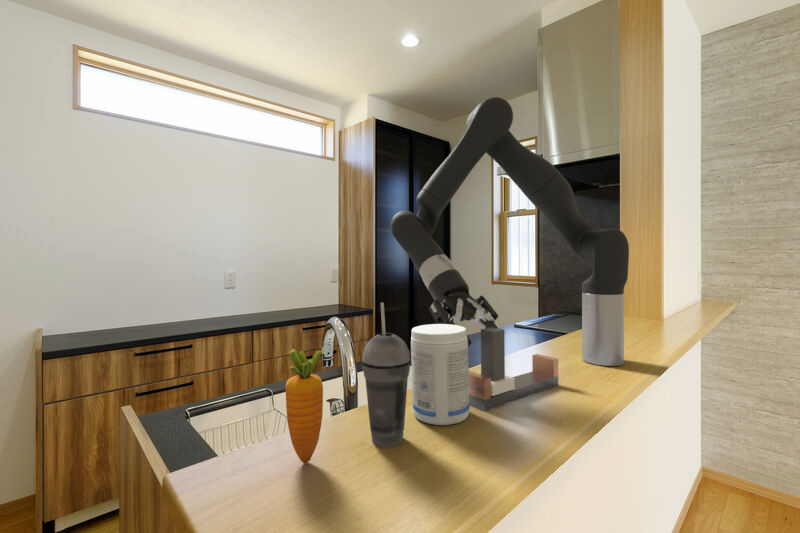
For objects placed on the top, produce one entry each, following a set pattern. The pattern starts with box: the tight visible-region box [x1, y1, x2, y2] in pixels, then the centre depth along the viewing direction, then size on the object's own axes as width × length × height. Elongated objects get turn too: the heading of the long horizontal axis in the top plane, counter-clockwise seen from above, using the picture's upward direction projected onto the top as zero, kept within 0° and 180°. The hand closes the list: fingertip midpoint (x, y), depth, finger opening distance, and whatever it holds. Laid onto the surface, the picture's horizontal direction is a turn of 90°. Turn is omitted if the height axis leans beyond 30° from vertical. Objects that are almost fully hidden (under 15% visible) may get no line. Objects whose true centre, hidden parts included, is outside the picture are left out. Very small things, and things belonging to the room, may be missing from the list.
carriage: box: [480, 327, 515, 396], centre depth 69 cm, size 6×5×11 cm
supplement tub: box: [410, 323, 471, 426], centre depth 63 cm, size 10×10×15 cm
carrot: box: [285, 348, 324, 464], centre depth 48 cm, size 5×5×15 cm
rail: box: [469, 353, 559, 412], centre depth 72 cm, size 22×5×6 cm, turn 125°
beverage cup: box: [360, 302, 412, 449], centre depth 54 cm, size 7×7×20 cm
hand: (484, 343), depth 71 cm, fingers open, 8 cm apart
